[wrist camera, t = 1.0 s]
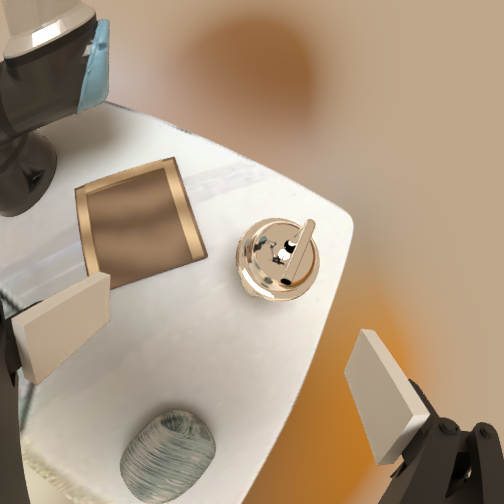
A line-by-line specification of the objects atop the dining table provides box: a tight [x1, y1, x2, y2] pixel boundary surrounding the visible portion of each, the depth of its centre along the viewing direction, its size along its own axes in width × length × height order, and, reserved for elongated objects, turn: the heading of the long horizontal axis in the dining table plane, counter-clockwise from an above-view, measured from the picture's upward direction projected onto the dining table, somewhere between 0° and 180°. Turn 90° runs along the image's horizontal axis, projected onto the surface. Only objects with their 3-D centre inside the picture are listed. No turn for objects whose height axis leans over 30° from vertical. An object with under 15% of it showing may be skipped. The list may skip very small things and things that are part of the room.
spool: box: [120, 410, 216, 504], centre depth 25 cm, size 14×10×10 cm
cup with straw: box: [236, 218, 320, 302], centre depth 28 cm, size 8×9×20 cm
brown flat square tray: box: [74, 157, 208, 290], centre depth 35 cm, size 16×16×2 cm
